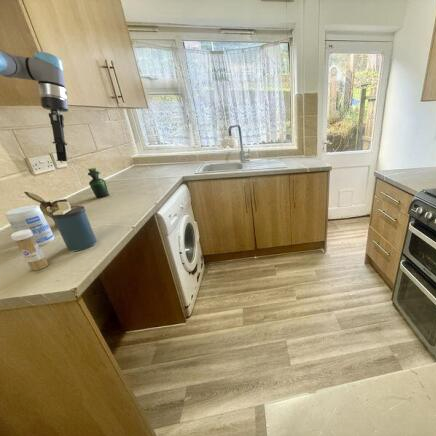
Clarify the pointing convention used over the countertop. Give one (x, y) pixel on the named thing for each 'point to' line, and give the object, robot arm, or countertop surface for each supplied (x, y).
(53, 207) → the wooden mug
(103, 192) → the potion bottle
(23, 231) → the sprinkles bottle
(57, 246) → the countertop surface
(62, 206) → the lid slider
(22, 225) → the supplement tub
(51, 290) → the countertop surface
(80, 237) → the tumbler
